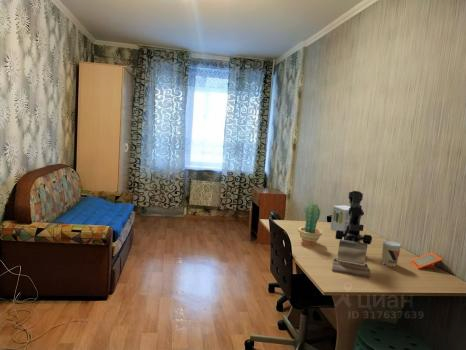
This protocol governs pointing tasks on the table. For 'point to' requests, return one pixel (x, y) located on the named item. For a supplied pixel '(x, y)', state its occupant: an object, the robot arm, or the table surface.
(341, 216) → the supplement box
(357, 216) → the robot arm
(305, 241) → the potted cactus
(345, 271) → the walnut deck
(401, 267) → the table surface
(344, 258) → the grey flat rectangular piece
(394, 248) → the coffee cup
